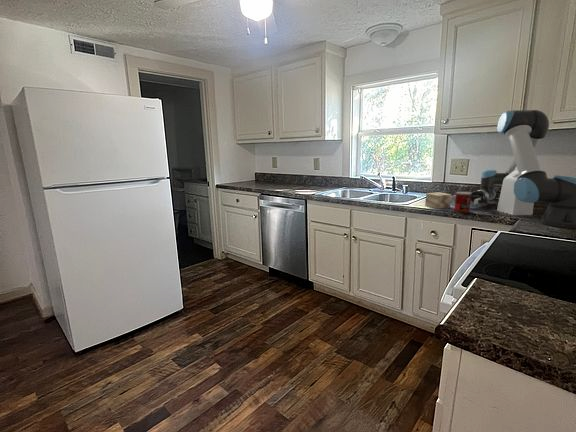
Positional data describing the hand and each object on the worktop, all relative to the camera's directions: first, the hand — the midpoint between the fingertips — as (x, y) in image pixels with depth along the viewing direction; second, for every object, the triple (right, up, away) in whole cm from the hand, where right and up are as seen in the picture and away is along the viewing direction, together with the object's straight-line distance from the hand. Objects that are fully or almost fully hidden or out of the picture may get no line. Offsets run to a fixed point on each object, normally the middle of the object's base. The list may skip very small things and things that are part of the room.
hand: (462, 200), depth 181 cm
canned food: (0, -7, +1) cm, 7 cm away
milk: (+28, -7, -3) cm, 29 cm away
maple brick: (-7, -3, +16) cm, 17 cm away
